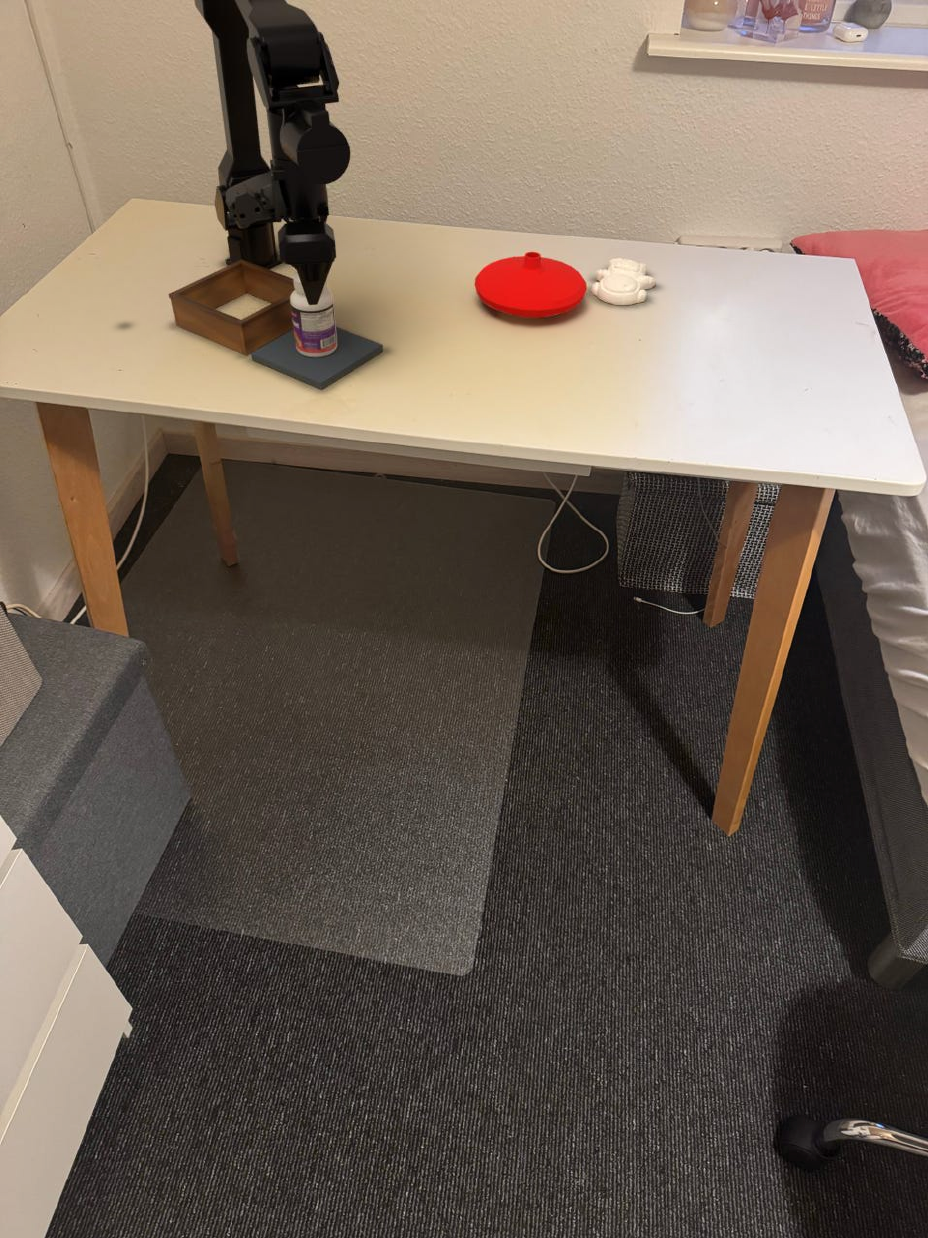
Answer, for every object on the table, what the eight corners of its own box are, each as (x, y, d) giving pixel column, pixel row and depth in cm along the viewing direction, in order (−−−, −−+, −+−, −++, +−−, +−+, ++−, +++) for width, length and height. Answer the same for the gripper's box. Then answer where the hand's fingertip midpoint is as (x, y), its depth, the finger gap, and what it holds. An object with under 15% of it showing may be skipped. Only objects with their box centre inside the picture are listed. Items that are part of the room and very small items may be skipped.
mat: (314, 324, 128) (313, 317, 127) (383, 351, 123) (382, 344, 122) (251, 359, 121) (250, 352, 120) (321, 389, 116) (320, 382, 115)
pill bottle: (296, 338, 123) (288, 266, 116) (337, 337, 124) (331, 265, 117) (294, 359, 119) (286, 285, 112) (337, 358, 120) (331, 285, 113)
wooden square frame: (246, 289, 135) (241, 259, 132) (315, 316, 130) (312, 285, 126) (175, 325, 127) (168, 293, 124) (246, 355, 122) (241, 323, 119)
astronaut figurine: (661, 276, 140) (665, 256, 138) (638, 310, 132) (642, 289, 130) (605, 265, 143) (608, 245, 141) (580, 297, 135) (582, 277, 133)
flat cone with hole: (455, 314, 131) (455, 265, 126) (500, 270, 141) (503, 223, 136) (560, 340, 126) (565, 290, 121) (600, 292, 136) (606, 244, 131)
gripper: (224, 127, 110) (244, 258, 121) (222, 187, 97) (244, 327, 108) (320, 124, 111) (331, 253, 122) (330, 182, 98) (341, 321, 109)
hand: (311, 287), depth 115 cm, fingers open, 9 cm apart
